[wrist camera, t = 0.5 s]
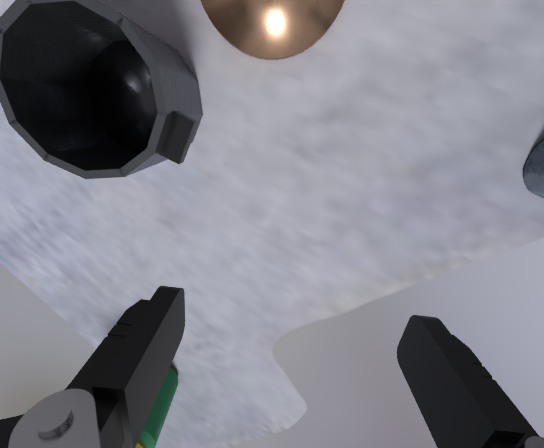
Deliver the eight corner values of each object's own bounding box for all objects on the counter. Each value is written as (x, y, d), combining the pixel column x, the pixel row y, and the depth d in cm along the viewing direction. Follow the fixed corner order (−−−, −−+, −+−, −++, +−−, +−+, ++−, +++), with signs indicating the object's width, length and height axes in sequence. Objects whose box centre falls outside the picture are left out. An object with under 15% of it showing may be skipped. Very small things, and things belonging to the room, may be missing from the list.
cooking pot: (85, -1, 27) (-31, -71, 17) (233, 81, 30) (210, 64, 19) (62, 120, 32) (-39, 123, 21) (192, 182, 34) (157, 211, 24)
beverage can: (154, 351, 46) (115, 427, 35) (189, 376, 48) (162, 454, 37) (127, 372, 48) (81, 450, 37) (161, 395, 50) (128, 474, 39)
